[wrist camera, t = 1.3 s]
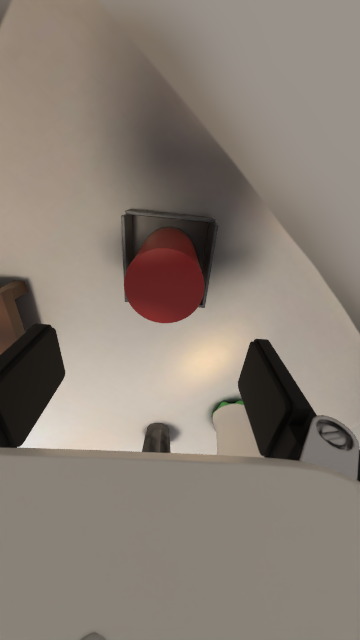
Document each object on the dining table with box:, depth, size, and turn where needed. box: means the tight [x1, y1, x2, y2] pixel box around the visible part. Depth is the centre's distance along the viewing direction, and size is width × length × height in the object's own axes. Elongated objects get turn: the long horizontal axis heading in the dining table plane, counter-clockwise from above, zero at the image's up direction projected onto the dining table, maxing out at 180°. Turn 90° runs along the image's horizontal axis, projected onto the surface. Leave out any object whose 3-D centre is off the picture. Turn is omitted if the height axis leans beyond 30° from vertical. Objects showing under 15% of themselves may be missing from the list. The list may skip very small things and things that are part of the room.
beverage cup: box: [142, 423, 170, 453], centre depth 36 cm, size 7×7×20 cm
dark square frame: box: [121, 209, 218, 308], centre depth 25 cm, size 9×9×4 cm
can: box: [124, 227, 204, 323], centre depth 22 cm, size 6×6×11 cm
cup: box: [212, 400, 264, 458], centre depth 36 cm, size 11×11×14 cm
